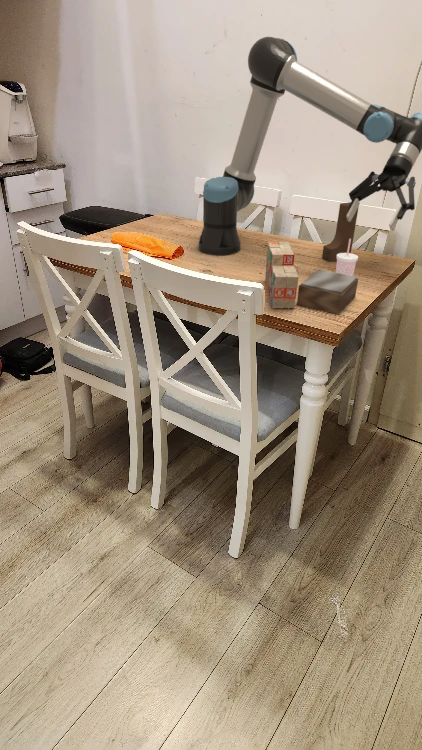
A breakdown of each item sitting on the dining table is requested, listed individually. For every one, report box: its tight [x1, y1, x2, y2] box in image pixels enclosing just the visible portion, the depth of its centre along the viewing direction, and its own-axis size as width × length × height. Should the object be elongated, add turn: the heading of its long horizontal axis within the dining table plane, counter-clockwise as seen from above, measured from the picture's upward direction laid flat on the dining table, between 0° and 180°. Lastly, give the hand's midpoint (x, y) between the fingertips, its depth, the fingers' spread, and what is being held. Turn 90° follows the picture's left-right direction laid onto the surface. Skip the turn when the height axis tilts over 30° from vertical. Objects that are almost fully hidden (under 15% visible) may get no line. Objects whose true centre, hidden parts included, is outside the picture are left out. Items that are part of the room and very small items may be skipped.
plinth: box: [296, 269, 359, 315], centre depth 134 cm, size 12×14×6 cm
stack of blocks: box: [264, 241, 299, 310], centre depth 136 cm, size 21×6×12 cm, turn 0°
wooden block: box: [321, 201, 359, 263], centre depth 162 cm, size 9×4×18 cm, turn 116°
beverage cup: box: [335, 239, 359, 276], centre depth 142 cm, size 6×6×14 cm
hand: (368, 223), depth 144 cm, fingers open, 13 cm apart
